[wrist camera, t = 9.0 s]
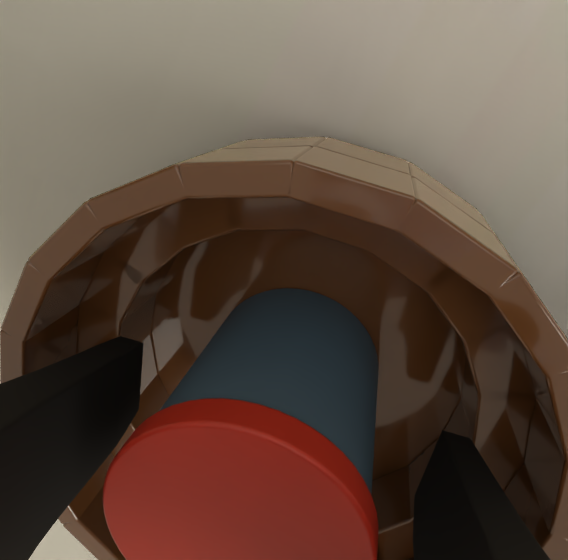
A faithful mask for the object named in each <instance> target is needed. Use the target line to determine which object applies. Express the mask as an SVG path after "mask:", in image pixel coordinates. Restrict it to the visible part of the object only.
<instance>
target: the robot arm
mask: <svg viewBox="0 0 568 560" xmlns="http://www.w3.org/2000/svg"><path fill="white" fill-rule="evenodd" d="M143 344H144V343H143V342H139V341H136V340H132V339H129V338H125V337H122V336H119V337H117V338H114V339H111V340H109V341H106V342H104V343H101V344H99V345H96V346H94V347H92V348H89V349H87V350H85V351H82V352H80V353H78V354H75V355H73V356H70V357H68V358H66V359H63V360H61V361H58V362H56V363H54V364H51V365H49V366H46V367H44V368H41V369H39V370H36V371H34V372H31V373H28V374H26V375H23V376H20V377H17V378H15V379H12V380H9V381H7V382H4V383H1V384H0V560H28V559H29V558H30V556H31V555H32V553H33V552H34V550H35V549H36V547H37V546H38V544H39V543H40V542H41V540H42V539H43V538H44V536H45V535H46V533H47V532H48V531H49V529H50V528H51V527H52V525H53V524H54V523H55V522H56V520H57V519H58V518H59V517H60V515H61V514H62V513H63V512H64V511H65V509H66V508H67V507H68V506H69V504H70V503H71V502H72V501H73V499H74V498H75V497H76V496H77V494H78V493H79V492H80V491H81V489H82V488H83V487H84V486H85V485H86V483H87V482H88V481H89V480H90V478H91V477H92V476H93V475H94V473H95V472H96V471H97V470H98V468H99V467H100V466H101V465H102V463H103V462H104V461H105V460H106V458H107V457H108V456H109V455H110V453H111V452H112V451H113V449H114V448H115V447H116V446H117V444H118V443H119V441H120V440H121V438H122V436H123V435H124V433H125V432H126V430H127V428H128V427H129V425H130V423H131V422H132V420H133V418H134V417H135V415H136V413H137V412H138V410H139V403H140V388H141V373H142V358H143ZM413 552H414V560H551V559H550V558H549V557H548V555H547V554H546V553H545V551H544V550H543V549H542V547H541V546H540V545H539V543H538V542H537V540H536V539H535V537H534V536H533V535H532V533H531V532H530V530H529V529H528V527H527V526H526V524H525V523H524V522H523V520H522V519H521V517H520V516H519V514H518V513H517V511H516V510H515V508H514V507H513V505H512V504H511V502H510V500H509V499H508V497H507V496H506V494H505V493H504V491H503V490H502V488H501V486H500V485H499V483H498V482H497V480H496V479H495V477H494V475H493V474H492V472H491V471H490V469H489V467H488V466H487V464H486V463H485V461H484V459H483V458H482V456H481V455H480V453H479V451H478V450H477V448H476V447H475V445H474V444H473V442H472V440H471V439H470V438H468V437H464V436H461V435H457V434H454V433H451V432H447V431H444V430H442V432H441V434H440V436H439V439H438V441H437V444H436V446H435V448H434V451H433V453H432V455H431V458H430V460H429V462H428V465H427V467H426V470H425V472H424V474H423V477H422V479H421V481H420V484H419V486H418V488H417V491H416V493H415V498H414V518H413Z"/></svg>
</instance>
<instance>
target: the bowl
mask: <svg viewBox="0 0 568 560" xmlns="http://www.w3.org/2000/svg"><path fill="white" fill-rule="evenodd" d="M283 288H292V289H302V290H308V291H312V292H315V293H319V294H321V295H324V296H326V297H328V298H331V299H332V300H334V301H336V302H338V303H339V304H341V305H342V306H344V307H345V308H346V309H348V310H349V311H350V312H351V313H352V314H353V315H354V316H355V317H356V318H357V319H358V320H359V321H360V322H361V323H362V325H363V326H364V327H365V328H366V330H367V332H368V333H369V335H370V337H371V339H372V341H373V344H374V346H375V349H376V353H377V357H378V387H377V405H376V423H375V441H374V459H373V477H372V495H371V496H372V498H373V501H374V505H375V508H376V511H377V518H378V525H379V527H378V554H377V560H414V552H413V518H414V498H415V493H416V491H417V488H418V486H419V484H420V481H421V479H422V477H423V474H424V472H425V470H426V467H427V465H428V462H429V460H430V458H431V455H432V453H433V451H434V448H435V446H436V444H437V441H438V439H439V436H440V434H441V432H442V430H444V431H447V432H451V433H454V434H457V435H461V436H464V437H468V438H470V439H471V440H472V442H473V444H474V445H475V447H476V448H477V450H478V451H479V453H480V455H481V456H482V458H483V459H484V461H485V463H486V464H487V466H488V467H489V469H490V471H491V472H492V474H493V475H494V477H495V479H496V480H497V482H498V483H499V485H500V486H501V488H502V490H503V491H504V493H505V494H506V496H507V497H508V499H509V500H510V502H511V504H512V505H513V507H514V508H515V510H516V511H517V513H518V514H519V516H520V517H521V519H522V520H523V522H524V523H525V524H526V526H527V527H528V529H529V530H530V532H531V533H532V535H533V536H534V537H535V539H536V540H537V542H538V543H539V545H540V546H541V547H542V549H543V550H544V551H545V553H546V554H547V555H548V557H549V558H550V559H551V560H568V339H567V337H566V336H565V334H564V333H563V331H562V330H561V328H560V327H559V326H558V324H557V323H556V321H555V320H554V318H553V317H552V315H551V314H550V313H549V311H548V310H547V308H546V307H545V305H544V304H543V302H542V301H541V299H540V298H539V297H538V295H537V294H536V292H535V291H534V289H533V288H532V286H531V285H530V284H529V282H528V281H527V279H526V278H525V276H524V275H523V273H522V272H521V271H520V269H519V268H518V266H517V265H516V263H515V262H514V260H513V259H512V258H511V256H510V255H509V253H508V252H507V250H506V249H505V247H504V246H503V245H502V243H501V242H500V240H499V239H498V237H497V236H496V235H495V233H494V232H493V230H492V229H491V227H490V226H489V224H488V223H487V222H486V220H485V219H484V217H483V216H482V214H480V213H479V212H478V210H477V209H476V208H475V207H473V206H472V205H470V204H469V203H468V202H466V201H465V200H463V199H462V198H461V197H459V196H458V195H456V194H455V193H454V192H452V191H451V190H449V189H448V188H447V187H445V186H444V185H442V184H441V183H439V182H438V181H437V180H435V179H434V178H432V177H431V176H430V175H428V174H427V173H425V172H424V171H423V170H421V169H420V168H418V167H417V166H416V165H414V164H413V163H411V162H408V161H406V160H404V159H401V158H397V157H394V156H391V155H387V154H384V153H381V152H377V151H374V150H371V149H367V148H364V147H361V146H357V145H354V144H350V143H347V142H344V141H340V140H337V139H334V138H330V137H329V138H326V137H297V138H272V139H248V140H245V141H240V142H237V143H234V144H231V145H228V146H225V147H223V148H220V149H217V150H214V151H211V152H208V153H205V154H202V155H199V156H196V157H193V158H190V159H188V160H185V161H182V162H179V163H176V164H173V165H171V166H168V167H166V168H163V169H161V170H159V171H156V172H154V173H151V174H149V175H146V176H144V177H141V178H139V179H136V180H134V181H132V182H129V183H127V184H124V185H122V186H119V187H117V188H114V189H112V190H110V191H107V192H105V193H102V194H100V195H97V196H95V197H92V198H90V199H89V200H88V201H86V202H84V203H83V204H82V205H81V206H80V207H79V208H78V209H77V210H76V211H75V212H74V213H73V214H72V215H71V216H70V217H69V218H68V219H67V220H66V221H65V222H64V223H63V224H62V225H61V226H60V227H59V228H58V229H57V230H56V231H55V232H54V233H53V234H52V235H51V236H50V237H49V238H48V239H47V240H46V241H45V242H44V243H43V244H42V245H41V246H40V247H39V248H38V249H37V250H36V251H35V252H34V253H33V254H32V255H31V256H30V257H29V259H28V261H27V262H26V264H25V267H24V269H23V272H22V274H21V277H20V279H19V282H18V285H17V287H16V290H15V292H14V295H13V298H12V300H11V303H10V305H9V308H8V311H7V313H6V316H5V318H4V321H3V323H2V326H1V331H0V381H1V383H4V382H7V381H9V380H12V379H15V378H17V377H20V376H23V375H26V374H28V373H31V372H34V371H36V370H39V369H41V368H44V367H46V366H49V365H51V364H54V363H56V362H58V361H61V360H63V359H66V358H68V357H70V356H73V355H75V354H78V353H80V352H82V351H85V350H87V349H89V348H92V347H94V346H96V345H99V344H101V343H104V342H106V341H109V340H111V339H114V338H117V337H119V336H122V337H125V338H129V339H132V340H136V341H139V342H143V343H144V344H143V358H142V373H141V388H140V403H139V410H138V412H137V413H136V415H135V417H134V418H133V420H132V422H131V423H130V425H129V427H128V428H127V430H126V432H125V433H124V435H123V436H122V438H121V440H120V441H119V443H118V444H117V446H116V447H115V448H114V449H113V451H112V452H111V453H110V455H109V456H108V457H107V458H106V460H105V461H104V462H103V463H102V465H101V466H100V467H99V468H98V470H97V471H96V472H95V473H94V475H93V476H92V477H91V478H90V480H89V481H88V482H87V483H86V485H85V486H84V487H83V488H82V489H81V491H80V492H79V493H78V494H77V496H76V497H75V498H74V499H73V501H72V502H71V503H70V504H69V506H68V507H67V508H66V509H65V511H64V512H63V513H62V514H61V515H60V517H59V518H58V519H59V521H60V522H61V523H62V524H63V526H64V527H65V528H66V529H67V530H68V531H69V532H70V533H71V534H72V535H73V536H74V537H75V538H76V539H77V540H78V541H79V542H80V543H81V544H82V545H83V546H84V547H86V548H87V549H88V550H89V551H90V552H91V553H92V554H93V555H94V556H95V557H96V558H97V559H98V560H126V559H125V557H124V556H123V555H122V553H121V552H120V550H119V549H118V547H117V545H116V543H115V541H114V540H113V538H112V536H111V533H110V531H109V528H108V526H107V522H106V519H105V515H104V509H103V486H104V482H105V478H106V474H107V470H108V468H109V466H110V464H111V462H112V460H113V459H114V457H115V456H116V454H117V453H118V452H119V450H120V449H121V448H122V446H123V445H124V444H125V442H126V441H127V440H128V439H129V437H130V436H131V435H132V433H133V432H134V431H135V429H136V428H137V427H138V426H139V425H140V424H142V423H143V422H144V421H145V420H146V419H147V418H149V417H151V416H152V415H154V414H155V413H157V412H159V410H160V409H161V408H162V406H163V405H164V403H165V402H166V401H167V399H168V398H169V397H170V395H171V394H172V392H173V391H174V390H175V388H176V387H177V386H178V384H179V383H180V382H181V380H182V379H183V377H184V376H185V375H186V373H187V372H188V371H189V369H190V368H191V366H192V365H193V364H194V362H195V361H196V360H197V358H198V357H199V355H200V354H201V353H202V351H203V350H204V349H205V347H206V346H207V344H208V343H209V342H210V340H211V339H212V338H213V336H214V335H215V334H216V332H217V331H218V329H219V328H220V327H221V325H222V324H223V323H224V321H225V320H226V318H227V317H228V316H229V314H230V313H231V312H232V311H233V310H234V309H235V308H236V307H237V306H238V305H239V304H241V303H242V302H243V301H245V300H246V299H248V298H250V297H252V296H254V295H256V294H259V293H262V292H264V291H269V290H274V289H283Z"/></svg>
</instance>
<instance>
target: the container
mask: <svg viewBox="0 0 568 560" xmlns="http://www.w3.org/2000/svg"><path fill="white" fill-rule="evenodd" d="M377 387H378V357H377V353H376V349H375V346H374V344H373V341H372V339H371V337H370V335H369V333H368V332H367V330H366V328H365V327H364V326H363V325H362V323H361V322H360V321H359V320H358V319H357V318H356V317H355V316H354V315H353V314H352V313H351V312H350V311H349V310H348V309H346V308H345V307H344V306H342V305H341V304H339V303H338V302H336V301H334V300H332V299H331V298H328V297H326V296H324V295H321V294H319V293H315V292H312V291H308V290H302V289H292V288H283V289H274V290H269V291H264V292H262V293H259V294H256V295H254V296H252V297H250V298H248V299H246V300H245V301H243V302H242V303H241V304H239V305H238V306H237V307H236V308H235V309H234V310H233V311H232V312H231V313H230V314H229V316H228V317H227V318H226V320H225V321H224V323H223V324H222V325H221V327H220V328H219V329H218V331H217V332H216V334H215V335H214V336H213V338H212V339H211V340H210V342H209V343H208V344H207V346H206V347H205V349H204V350H203V351H202V353H201V354H200V355H199V357H198V358H197V360H196V361H195V362H194V364H193V365H192V366H191V368H190V369H189V371H188V372H187V373H186V375H185V376H184V377H183V379H182V380H181V382H180V383H179V384H178V386H177V387H176V388H175V390H174V391H173V392H172V394H171V395H170V397H169V398H168V399H167V401H166V402H165V403H164V405H163V406H162V408H161V409H160V410H159V412H157V413H155V414H154V415H152V416H151V417H149V418H147V419H146V420H145V421H144V422H143V423H142V424H140V425H139V426H138V427H137V428H136V429H135V431H134V432H133V433H132V435H131V436H130V437H129V439H128V440H127V441H126V442H125V444H124V445H123V446H122V448H121V449H120V450H119V452H118V453H117V454H116V456H115V457H114V459H113V460H112V462H111V464H110V466H109V468H108V470H107V474H106V478H105V482H104V486H103V509H104V515H105V519H106V522H107V526H108V528H109V531H110V533H111V536H112V538H113V540H114V541H115V543H116V545H117V547H118V549H119V550H120V552H121V553H122V555H123V556H124V557H125V559H126V560H377V554H378V527H379V525H378V518H377V511H376V508H375V505H374V501H373V498H372V496H371V495H372V477H373V459H374V441H375V423H376V405H377Z"/></svg>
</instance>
